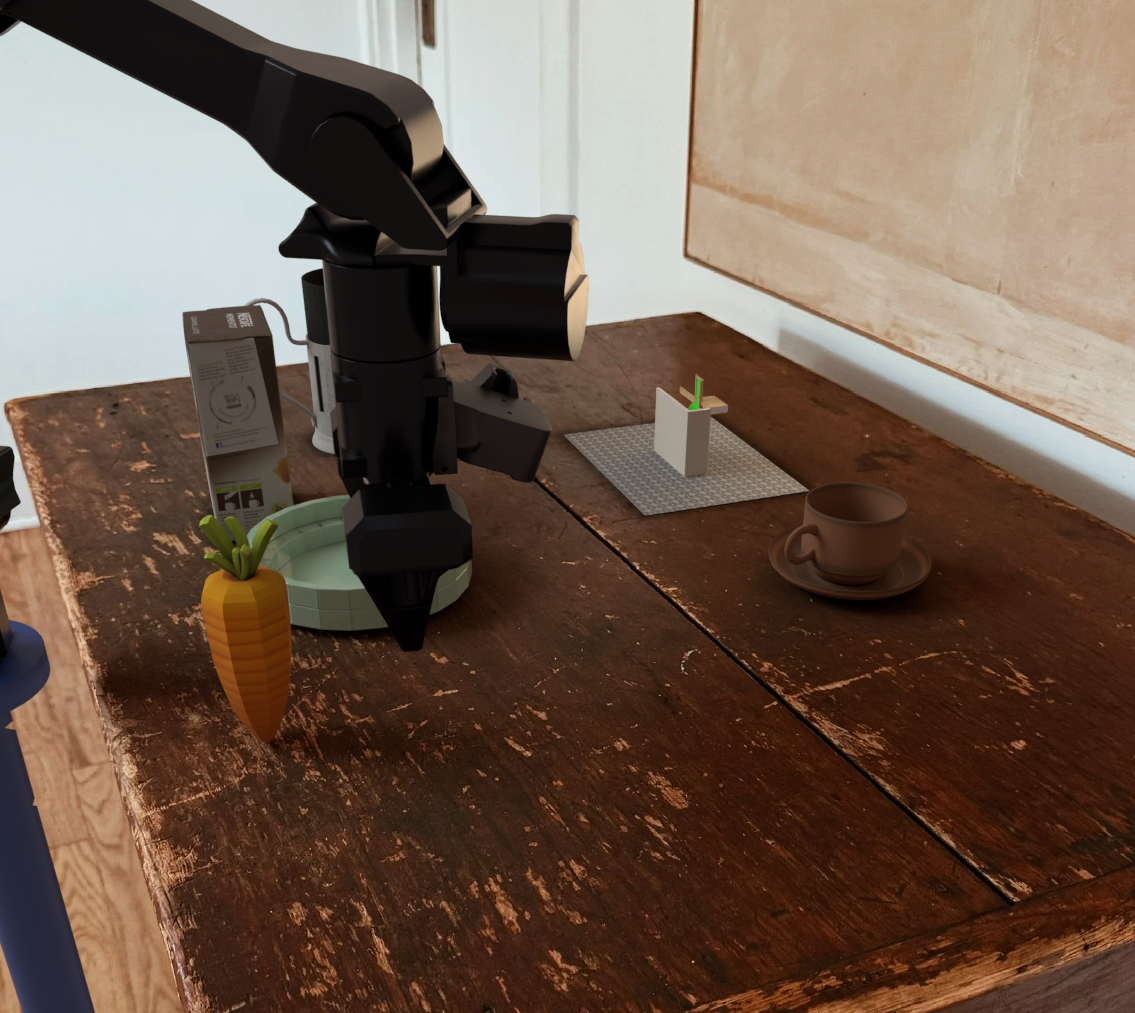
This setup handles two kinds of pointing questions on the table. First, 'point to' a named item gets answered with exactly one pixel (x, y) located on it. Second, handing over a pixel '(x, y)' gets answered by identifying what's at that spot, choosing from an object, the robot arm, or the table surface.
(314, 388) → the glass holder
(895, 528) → the cup and saucer
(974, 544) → the table surface
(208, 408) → the coffee box
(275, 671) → the carrot
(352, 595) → the bowl
